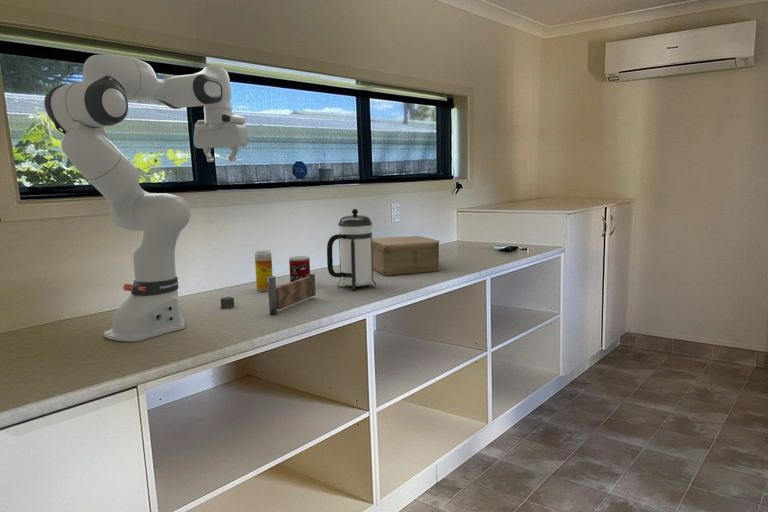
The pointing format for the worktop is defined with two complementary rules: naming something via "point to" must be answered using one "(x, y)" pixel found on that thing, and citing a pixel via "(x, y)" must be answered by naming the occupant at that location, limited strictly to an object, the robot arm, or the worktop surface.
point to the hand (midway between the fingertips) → (221, 161)
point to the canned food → (299, 267)
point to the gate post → (272, 295)
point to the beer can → (263, 269)
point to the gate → (295, 291)
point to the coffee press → (353, 251)
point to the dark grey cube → (227, 302)
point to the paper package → (405, 255)
